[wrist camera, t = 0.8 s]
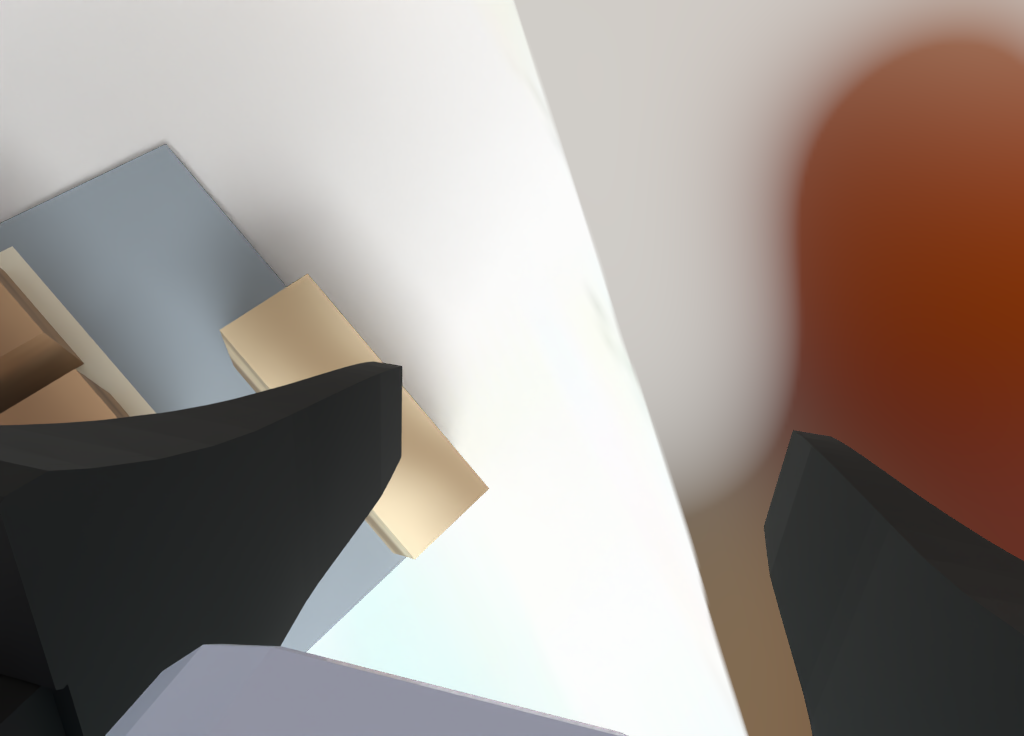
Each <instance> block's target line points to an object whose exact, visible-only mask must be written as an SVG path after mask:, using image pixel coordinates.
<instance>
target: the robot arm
mask: <svg viewBox="0 0 1024 736" xmlns="http://www.w3.org/2000/svg"><path fill="white" fill-rule="evenodd" d="M401 455H402V366H398V365H392V364H386V363H380V362H374V361H372V362H364V363H359V364H355V365H351V366H347V367H343V368H340V369H337V370H333V371H330V372H327V373H323V374H320V375H317V376H313V377H310V378H307V379H304V380H300V381H297V382H294V383H291V384H287V385H284V386H280V387H276V388H273V389H269V390H265V391H262V392H258V393H254V394H250V395H247V396H243V397H239V398H236V399H231V400H227V401H223V402H218V403H213V404H209V405H203V406H198V407H193V408H187V409H182V410H176V411H170V412H164V413H156V414H147V415H139V416H131V417H123V418H114V419H106V420H96V421H82V422H68V423H50V424H28V425H0V736H627V735H625V734H623V733H620V732H617V731H613V730H609V729H605V728H601V727H598V726H594V725H590V724H586V723H582V722H578V721H574V720H570V719H566V718H562V717H558V716H554V715H550V714H546V713H542V712H538V711H534V710H530V709H527V708H523V707H519V706H515V705H511V704H507V703H503V702H499V701H495V700H491V699H487V698H483V697H479V696H475V695H471V694H467V693H463V692H460V691H456V690H452V689H448V688H444V687H440V686H436V685H432V684H428V683H424V682H420V681H416V680H412V679H408V678H404V677H400V676H396V675H392V674H389V673H385V672H381V671H377V670H373V669H369V668H365V667H361V666H357V665H353V664H349V663H345V662H341V661H337V660H333V659H329V658H325V657H321V656H318V655H314V654H310V653H306V652H302V651H298V650H294V649H290V648H286V647H282V646H281V645H282V643H283V641H284V639H285V638H286V636H287V634H288V632H289V631H290V629H291V627H292V625H293V624H294V622H295V620H296V618H297V617H298V615H299V613H300V611H301V610H302V608H303V606H304V605H305V603H306V601H307V600H308V598H309V597H310V595H311V594H312V592H313V591H314V589H315V588H316V586H317V585H318V583H319V582H320V580H321V579H322V578H323V576H324V575H325V574H326V572H327V571H328V570H329V568H330V567H331V565H332V564H333V563H334V561H335V560H336V559H337V557H338V556H339V554H340V553H341V552H342V550H343V549H344V548H345V546H346V545H347V544H348V542H349V541H350V539H351V538H352V537H353V535H354V534H355V533H356V531H357V530H358V529H359V527H360V526H361V524H362V523H363V522H364V520H365V519H366V517H367V516H368V515H369V513H370V512H371V510H372V509H373V508H374V506H375V505H376V503H377V502H378V501H379V499H380V498H381V496H382V494H383V492H384V491H385V489H386V487H387V485H388V483H389V481H390V479H391V477H392V475H393V473H394V471H395V469H396V467H397V465H398V463H399V461H400V459H401ZM764 531H765V539H766V549H767V557H768V564H769V571H770V577H771V581H772V585H773V589H774V592H775V596H776V599H777V603H778V607H779V610H780V614H781V618H782V621H783V624H784V628H785V631H786V635H787V638H788V642H789V645H790V649H791V652H792V656H793V659H794V663H795V666H796V670H797V673H798V677H799V680H800V684H801V687H802V691H803V694H804V698H805V703H806V707H807V711H808V715H809V719H810V724H811V729H812V735H813V736H1024V561H1023V560H1021V559H1019V558H1017V557H1015V556H1013V555H1012V554H1010V553H1008V552H1006V551H1005V550H1003V549H1001V548H1000V547H998V546H996V545H995V544H993V543H991V542H990V541H987V540H986V539H985V538H982V537H981V536H980V535H978V534H977V533H975V532H973V531H972V530H970V529H969V528H967V527H965V526H964V525H962V524H961V523H959V522H958V521H956V520H955V519H953V518H951V517H950V516H948V515H947V514H945V513H944V512H942V511H941V510H939V509H938V508H936V507H935V506H933V505H932V504H930V503H929V502H927V501H926V500H924V499H923V498H921V497H920V496H919V495H917V494H916V493H914V492H913V491H911V490H910V489H909V488H907V487H906V486H904V485H903V484H901V483H900V482H899V481H897V480H896V479H894V478H893V477H892V476H890V475H889V474H887V473H886V472H885V471H883V470H882V469H880V468H879V467H877V466H876V465H875V464H873V463H872V462H870V461H869V460H868V459H866V458H865V457H863V456H862V455H860V454H859V453H857V452H856V451H854V450H853V449H851V448H850V447H848V446H847V445H845V444H844V443H842V442H840V441H838V440H836V439H834V438H832V437H830V436H824V435H818V434H812V433H806V432H800V431H793V432H792V436H791V439H790V442H789V446H788V449H787V452H786V456H785V459H784V462H783V465H782V469H781V472H780V475H779V478H778V482H777V485H776V489H775V492H774V495H773V498H772V502H771V505H770V508H769V511H768V515H767V518H766V521H765V525H764Z"/></svg>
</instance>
